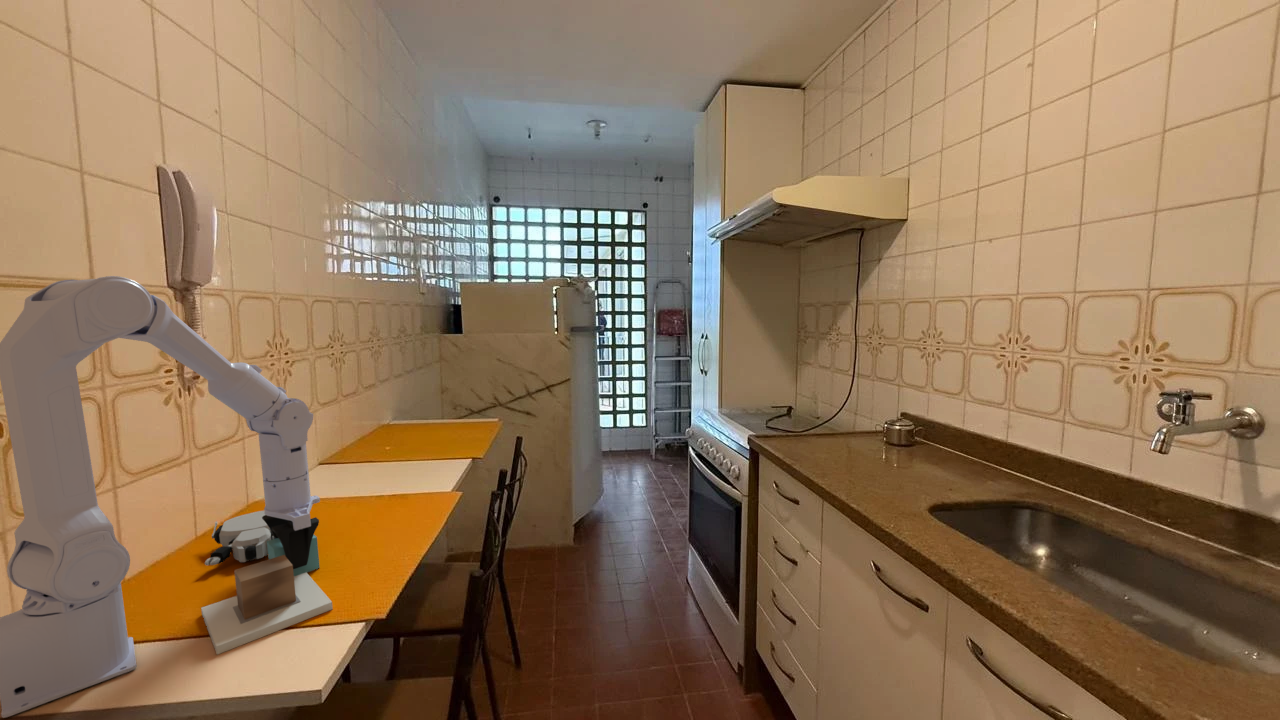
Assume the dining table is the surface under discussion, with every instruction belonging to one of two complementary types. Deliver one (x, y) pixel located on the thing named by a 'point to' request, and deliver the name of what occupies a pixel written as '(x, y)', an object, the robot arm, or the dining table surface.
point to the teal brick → (277, 550)
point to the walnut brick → (265, 586)
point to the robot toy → (241, 538)
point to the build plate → (262, 616)
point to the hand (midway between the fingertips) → (294, 561)
